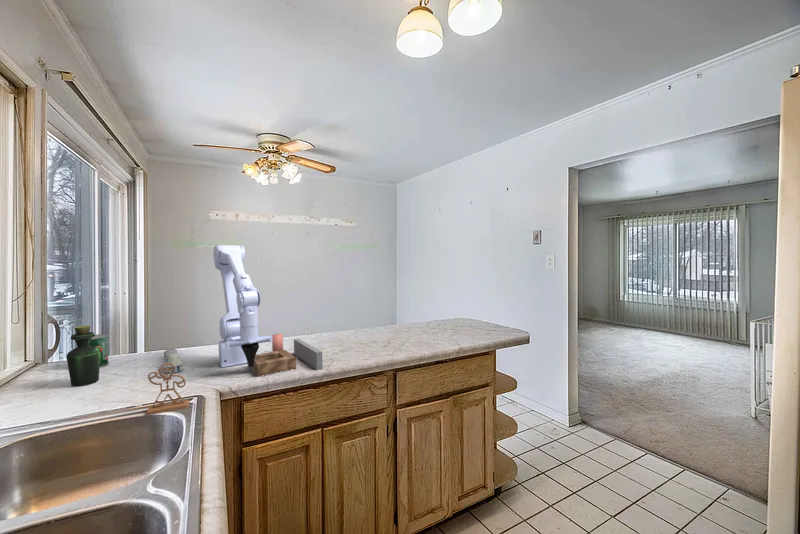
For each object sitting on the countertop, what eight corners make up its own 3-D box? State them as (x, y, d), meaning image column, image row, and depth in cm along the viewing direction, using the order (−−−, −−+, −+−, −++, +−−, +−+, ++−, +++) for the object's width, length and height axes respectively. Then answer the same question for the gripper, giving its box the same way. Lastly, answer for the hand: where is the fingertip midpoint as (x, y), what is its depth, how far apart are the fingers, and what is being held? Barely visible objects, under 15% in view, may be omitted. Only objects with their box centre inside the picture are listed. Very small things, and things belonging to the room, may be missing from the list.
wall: (317, 370, 119) (316, 352, 119) (294, 354, 139) (293, 339, 139) (322, 368, 120) (322, 351, 120) (299, 353, 140) (298, 338, 140)
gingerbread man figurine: (189, 402, 94) (187, 358, 94) (187, 408, 91) (185, 362, 90) (149, 409, 91) (147, 363, 90) (146, 415, 87) (143, 368, 87)
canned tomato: (107, 361, 133) (106, 333, 133) (109, 366, 128) (108, 336, 127) (79, 366, 128) (78, 336, 127) (80, 371, 122) (78, 340, 122)
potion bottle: (108, 379, 114) (106, 324, 113) (80, 388, 106) (77, 329, 105) (89, 377, 115) (86, 323, 115) (60, 386, 108) (57, 329, 107)
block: (258, 376, 114) (258, 364, 114) (249, 366, 124) (249, 355, 124) (296, 368, 121) (296, 357, 121) (285, 360, 131) (285, 349, 131)
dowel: (274, 357, 135) (273, 336, 135) (271, 354, 139) (270, 334, 138) (284, 355, 138) (283, 335, 137) (281, 353, 141) (280, 333, 141)
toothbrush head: (177, 346, 140) (183, 350, 120) (178, 363, 139) (184, 370, 120) (161, 348, 137) (165, 353, 117) (162, 366, 136) (166, 374, 116)
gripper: (227, 330, 110) (228, 373, 111) (274, 325, 118) (275, 364, 119) (223, 327, 116) (225, 367, 116) (269, 321, 124) (270, 359, 125)
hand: (250, 365), depth 118 cm, fingers closed
